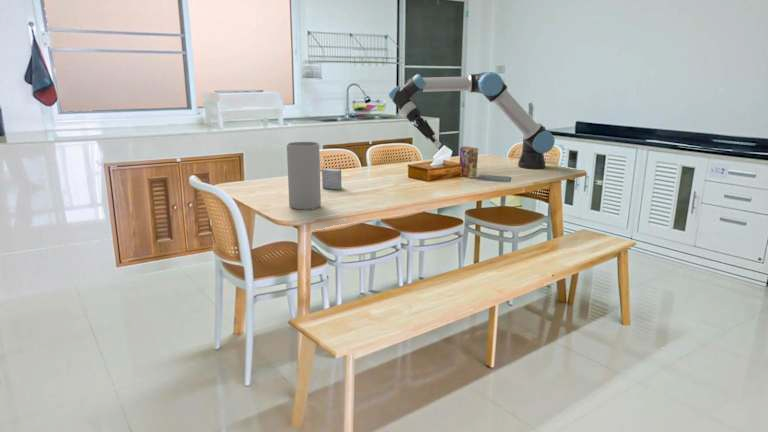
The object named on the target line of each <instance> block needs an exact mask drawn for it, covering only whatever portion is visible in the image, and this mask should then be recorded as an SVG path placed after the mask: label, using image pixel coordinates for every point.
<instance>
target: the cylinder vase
mask: <svg viewBox="0 0 768 432" xmlns="http://www.w3.org/2000/svg"><path fill="white" fill-rule="evenodd" d="M286 159H287V161H286V162H287V181H288V182H287V183H288V204H289V207H290V208H292V209H293V208H295V209H294V210H299V209H308V210H313V209H312V208H315V209H317V208H319V207H321V205H322V204H321V203H322V200H321V196H322V195H321V165H320V164H321V163H320V160H321V157H320V143H319V142H313V141H295V142H294V141H293V142H288V143H286Z"/></svg>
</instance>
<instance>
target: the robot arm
mask: <svg viewBox="0 0 768 432" xmlns="http://www.w3.org/2000/svg"><path fill="white" fill-rule="evenodd" d="M461 91H462V92H463V91H468V92H469V93H476V94H477V93H478V94H482V95H483V96H484V97H485V98H486V100H488V102H489V103H495V105H496V106H497V107H498V108H499V109H500V110H501V111H502V112H503V114H504V115H506V117H508V119H509V120H510V121H511V122H512V123H513V124H514V126H515V127H517V129H518V130H519V131H520V132H521V133H522V134H523V138H522V140H523V141H522V150H521V155H520V158H519V160H518V163H517V166H518V167H519V168H524V169H532V170H533V169H534V170H538V169H544V168H546V159H545V156H544V154H546V153H548V152H550V151H551V150H552V149H553V148H554V146H555V141H556V140H555V137H554V135H553V133H551V132H550V131H548V130H547V129H546V126H543V124H541V123H540V122H539V123H538V122H536V121H535V120H534V119H533V118H532V116H530V114H528V113H527V111H526V110H525V109H524V108H523V106H521V104H520V103H518V101H517V100H516V99H515V98H514V97H513V95H512V94H511V93H510V92H509V91H508V86H507V84H506V83H505V82H504V81H503V79H502V77H501V75H499V73H497V72H493V71H485V72H480V73H473V74H469V75H467V76H442V77H441V76H438V77H437V76H436V77H432V76H431V77H422V76H421V75H420V73H417V74H415V75H414V76H412V77H410V78H408V79H407V81H406V83H405V84H404V85H403V86H401V87H400V85H396V86H395V87H393V88H392V89H391V90H390V91H389V93H388V95H389V98H390V99H391V101H392V102H393V104H395V106H396V107H397V108H398V109H399V111H400V112H401V114H402V115H404V116H405V117H406V119H407V120H408V122H410V123H413V127H415V128H416V129H417V130H418V131H419V132H420V133H421V134H422V135H423V136H424V137H425V138H426V139H427V140H430V142H431V143H432V144H433V145H434V147H435V148H436V149H438V148H440V147H441V146H442V143H441V141H440V140H439V139H438V138H437V137H436V136H435V135H436V132H435V131H434V130H433V129H432V127H431V126H430V124H429V123H428V121H427V119H424V118H422V117H421V116H422V115H421V114H422V112H421V111H420V110H419V109H418V107H417V106H416V104H415V103H413V101H412V100H411V99H412V98H413V97H414V96H415V95H416V94H418V93H423V92H425V93H427V92H431V93H433V92H461Z"/></svg>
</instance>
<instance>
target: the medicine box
mask: <svg viewBox="0 0 768 432" xmlns="http://www.w3.org/2000/svg"><path fill="white" fill-rule="evenodd" d="M321 178H322V179H321V180H322V181H321V182H322V189H326V188H330V189H329V190H339V189H341V188H342V170H341V169H340V168H339V169H338V168H337V169H336V168H324V169H322V170H321Z"/></svg>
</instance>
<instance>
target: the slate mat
mask: <svg viewBox="0 0 768 432" xmlns="http://www.w3.org/2000/svg"><path fill="white" fill-rule="evenodd" d="M511 179H512V176H506V175H495V174H494V175H493V174H492V175H491V174H490V175H489V174H479V175H478V177H476V180H477V181H478V180H479V181H489V182H490V181H491V182H492V181H493V182H503V183H504V182H505V183H509V182H510V181H511Z"/></svg>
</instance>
